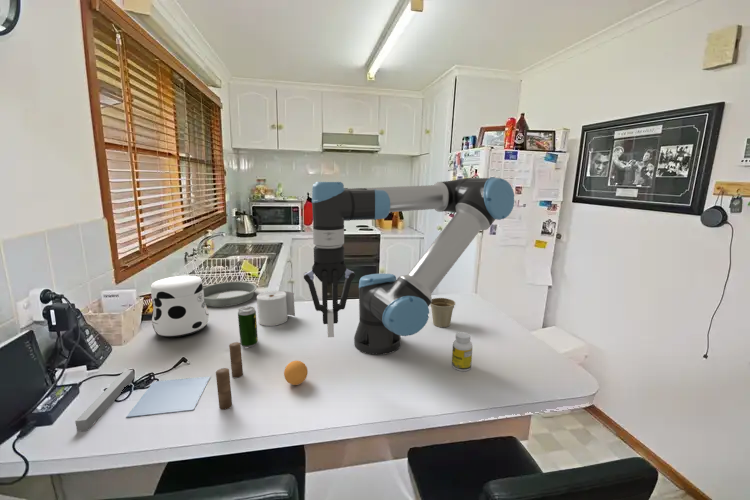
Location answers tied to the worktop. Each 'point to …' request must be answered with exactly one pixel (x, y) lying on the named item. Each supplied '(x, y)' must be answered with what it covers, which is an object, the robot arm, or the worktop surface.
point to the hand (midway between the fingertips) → (330, 334)
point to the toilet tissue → (275, 307)
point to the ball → (295, 372)
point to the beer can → (247, 326)
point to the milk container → (178, 306)
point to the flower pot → (442, 311)
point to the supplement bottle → (462, 352)
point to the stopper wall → (104, 401)
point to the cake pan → (216, 289)
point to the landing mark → (170, 396)
